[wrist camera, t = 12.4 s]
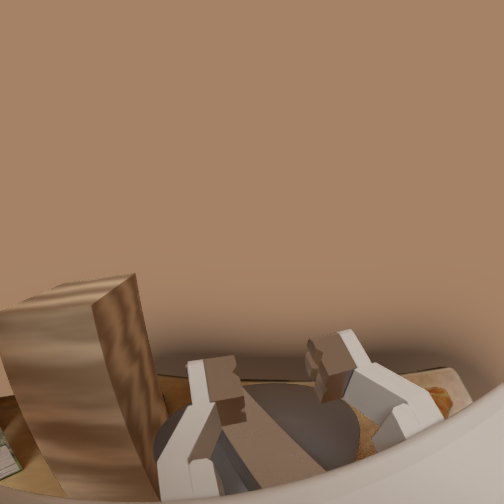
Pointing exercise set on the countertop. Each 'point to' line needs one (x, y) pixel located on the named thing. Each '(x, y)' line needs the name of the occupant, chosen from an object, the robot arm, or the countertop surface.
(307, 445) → the dial scale
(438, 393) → the pastry
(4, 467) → the syrup box
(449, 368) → the countertop surface
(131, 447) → the wooden stand
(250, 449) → the wooden bar
